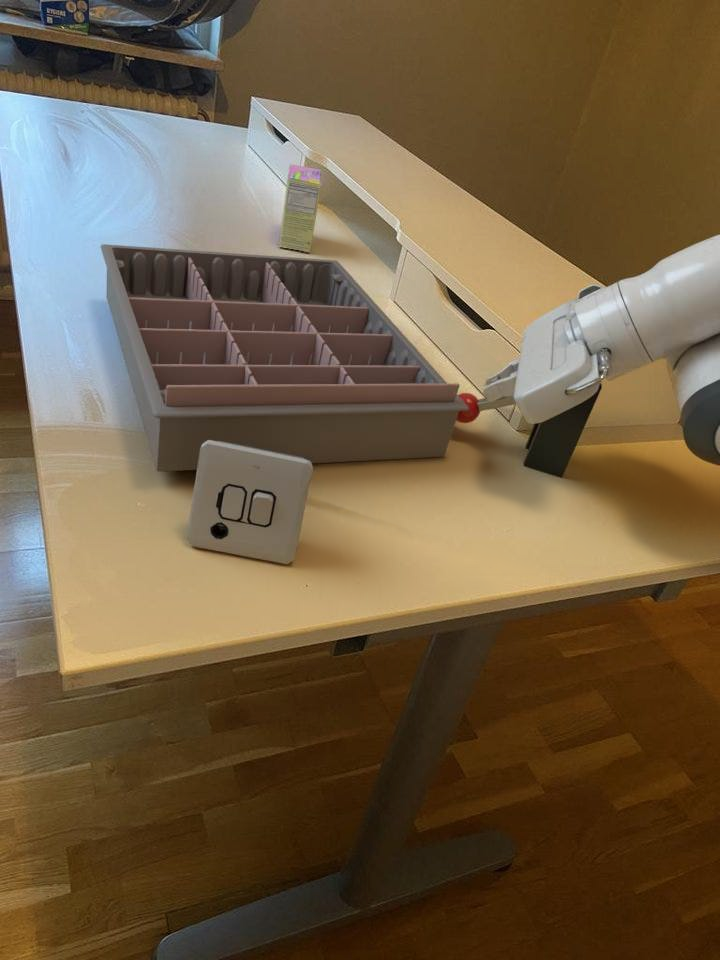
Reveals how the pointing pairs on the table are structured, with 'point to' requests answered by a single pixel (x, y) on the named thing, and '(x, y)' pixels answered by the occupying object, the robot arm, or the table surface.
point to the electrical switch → (248, 501)
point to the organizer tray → (270, 359)
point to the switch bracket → (557, 438)
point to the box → (300, 208)
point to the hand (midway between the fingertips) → (486, 391)
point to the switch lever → (480, 406)
